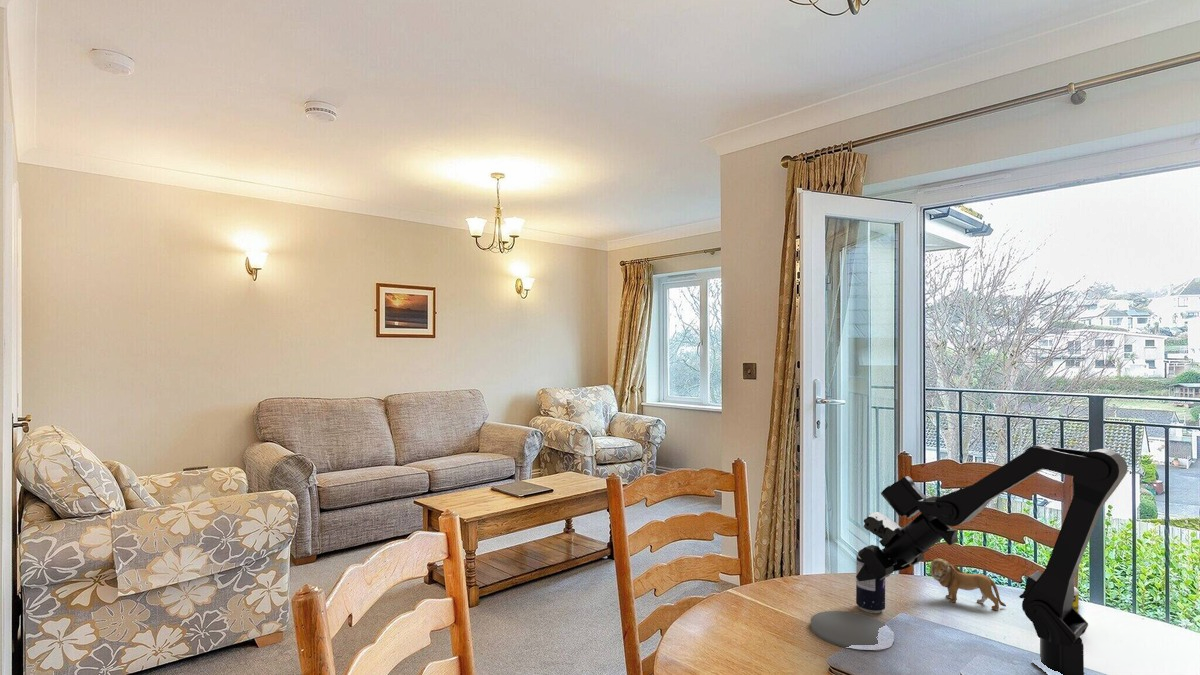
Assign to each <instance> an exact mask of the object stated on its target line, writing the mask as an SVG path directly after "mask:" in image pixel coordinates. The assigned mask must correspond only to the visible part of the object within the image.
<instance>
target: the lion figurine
mask: <svg viewBox="0 0 1200 675" xmlns="http://www.w3.org/2000/svg"><path fill="white" fill-rule="evenodd" d="M930 561H931V562H930V569H929V570H930V571H929V572H930V575H931V578H933V579H934V580H935V581H937V582H938V583H939V584H940V586H942V587H944V588H947V592H948V594H946V595H945V598H946V597H947V598H946V599H948V602H949V601H950V603H951V602H955V603H957V601H958V596H957V595H958V594H957V593H958V591H959V590H963V591H974V590H977V589H979V591H980V593H981V598H980V599H976V603H978V604H984V603H985V602H986V601H987V600H988V599H989V601H991V602H992V603H994V605H991V609H992V610H994V611H999V609H1000V606H1001V607H1002V606H1003V607H1007V605H1006V604H1005V603H1004V602H1003V601H1002V600H1001V597H1000V593H999V591H998V587H997V585H996V583H995V581H994V580H993V579H992V578H990V577H989V576H987V575H985V574H982V573H966V572H963V571H962V570H960V568H958V567H957V566H956V565H954V564H952V563H950V561H947V560H946V559H943V558H935V559H933V560H930ZM992 588H993V589H992ZM993 590H994V593H995V594H994V593H993ZM949 598H951V599H949Z"/></svg>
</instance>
